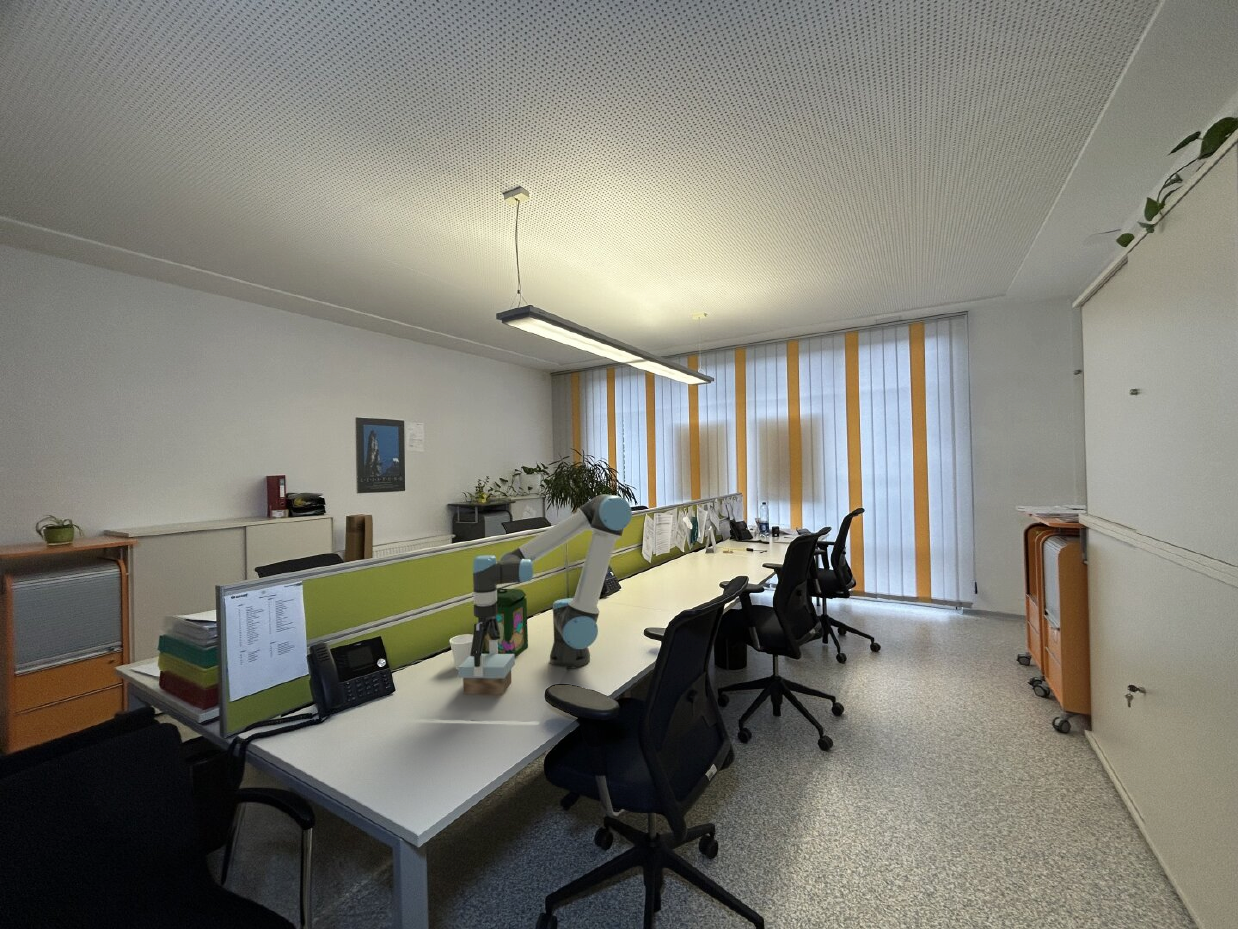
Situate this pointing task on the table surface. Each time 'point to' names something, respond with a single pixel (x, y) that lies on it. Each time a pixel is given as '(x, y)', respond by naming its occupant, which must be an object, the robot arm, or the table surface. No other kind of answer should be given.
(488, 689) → the crate
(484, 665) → the lid
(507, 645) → the container
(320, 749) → the table surface
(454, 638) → the cup
